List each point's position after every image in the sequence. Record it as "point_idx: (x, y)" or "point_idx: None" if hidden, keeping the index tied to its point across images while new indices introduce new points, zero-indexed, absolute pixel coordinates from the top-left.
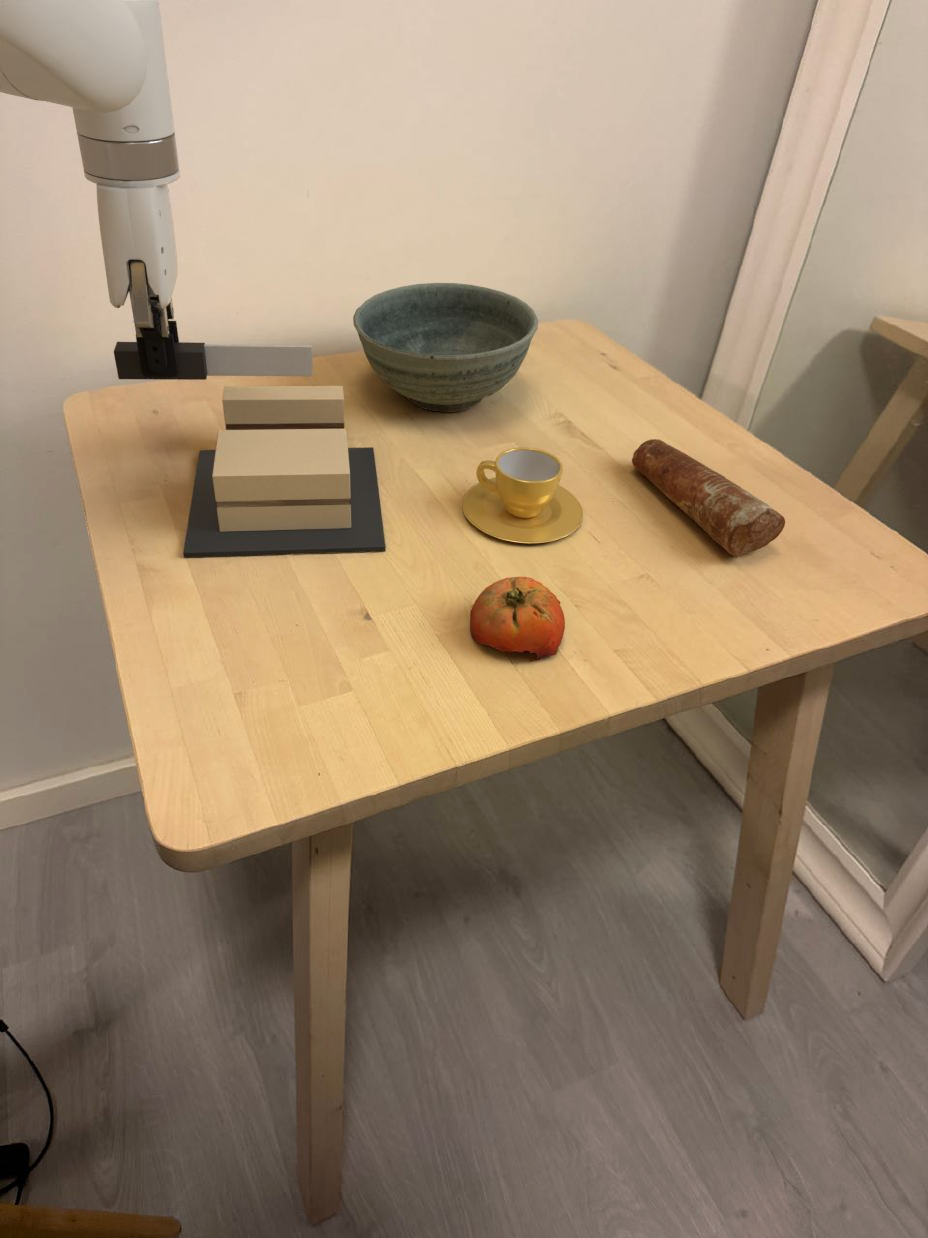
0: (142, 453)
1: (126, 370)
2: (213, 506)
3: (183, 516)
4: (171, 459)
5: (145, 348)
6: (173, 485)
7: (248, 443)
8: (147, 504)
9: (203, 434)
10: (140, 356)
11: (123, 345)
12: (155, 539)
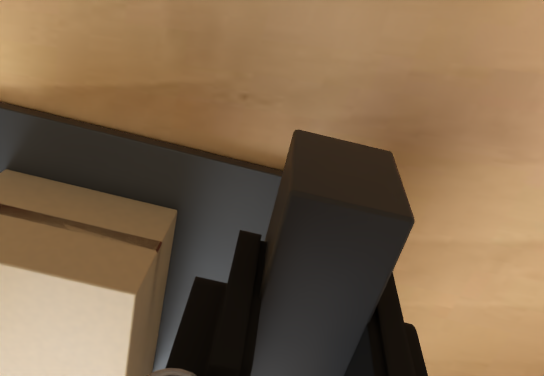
0: (390, 60)
1: (283, 180)
2: (97, 174)
3: (92, 109)
4: (336, 122)
5: (175, 342)
6: (220, 109)
7: (62, 334)
8: (150, 42)
9: (426, 204)
10: (228, 283)
11: (348, 242)
12: (9, 41)
